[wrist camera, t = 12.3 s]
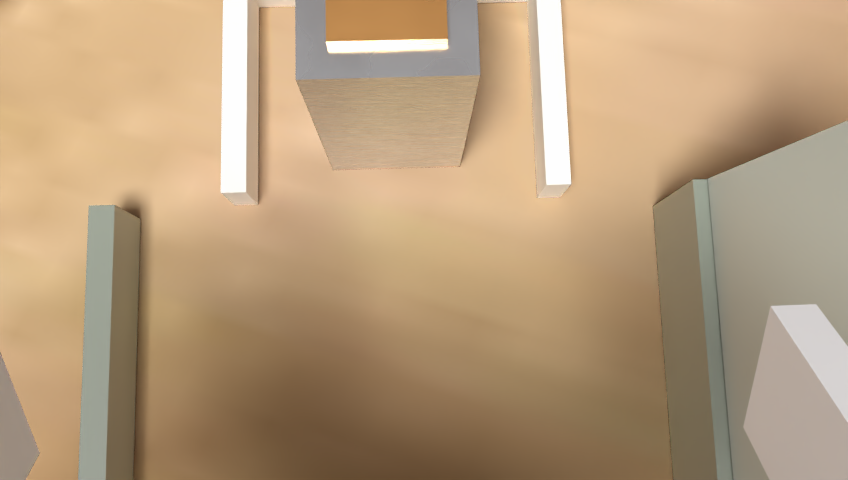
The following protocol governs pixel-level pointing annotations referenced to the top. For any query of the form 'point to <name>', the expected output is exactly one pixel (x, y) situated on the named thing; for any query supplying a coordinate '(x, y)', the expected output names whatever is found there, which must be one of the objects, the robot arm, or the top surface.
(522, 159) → the top surface
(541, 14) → the dock
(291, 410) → the top surface
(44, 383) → the top surface
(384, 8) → the block
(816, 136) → the case
